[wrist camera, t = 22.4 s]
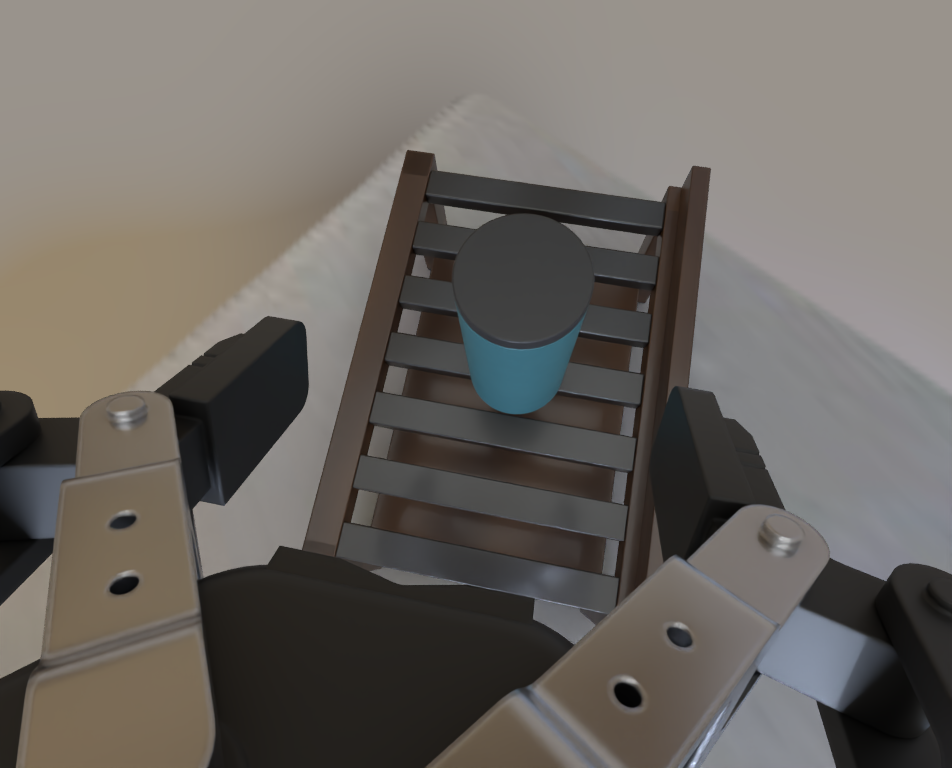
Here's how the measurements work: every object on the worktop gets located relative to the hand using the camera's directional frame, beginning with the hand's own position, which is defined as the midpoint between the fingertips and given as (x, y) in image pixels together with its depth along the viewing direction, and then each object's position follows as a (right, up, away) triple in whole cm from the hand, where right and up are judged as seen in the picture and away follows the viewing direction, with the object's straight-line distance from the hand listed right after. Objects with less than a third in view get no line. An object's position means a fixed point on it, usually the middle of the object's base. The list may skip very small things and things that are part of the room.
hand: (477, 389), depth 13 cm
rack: (+2, -2, +22) cm, 22 cm away
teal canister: (+2, +1, +12) cm, 12 cm away
